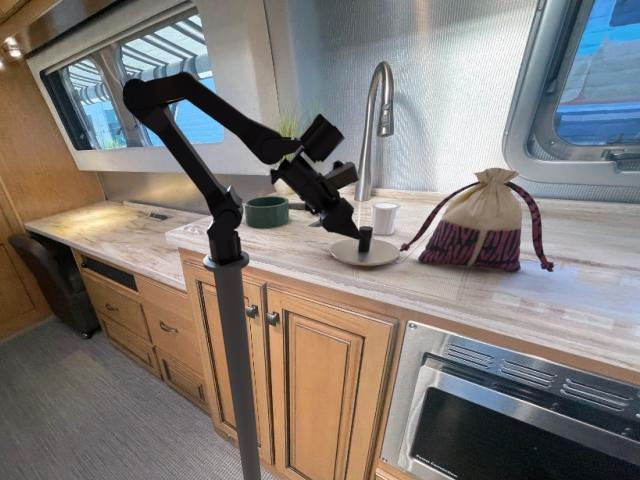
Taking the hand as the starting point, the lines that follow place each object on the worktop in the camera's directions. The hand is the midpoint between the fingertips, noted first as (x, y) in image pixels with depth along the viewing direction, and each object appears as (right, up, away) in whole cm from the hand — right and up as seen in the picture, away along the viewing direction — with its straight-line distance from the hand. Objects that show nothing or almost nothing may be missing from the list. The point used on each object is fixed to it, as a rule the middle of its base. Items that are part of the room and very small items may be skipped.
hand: (354, 230), depth 67 cm
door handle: (0, +18, +42) cm, 45 cm away
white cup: (+13, +3, +16) cm, 21 cm away
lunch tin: (-16, +10, +32) cm, 37 cm away
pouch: (+21, -9, -5) cm, 23 cm away
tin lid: (+3, -4, +2) cm, 6 cm away
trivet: (+3, -5, +3) cm, 7 cm away
